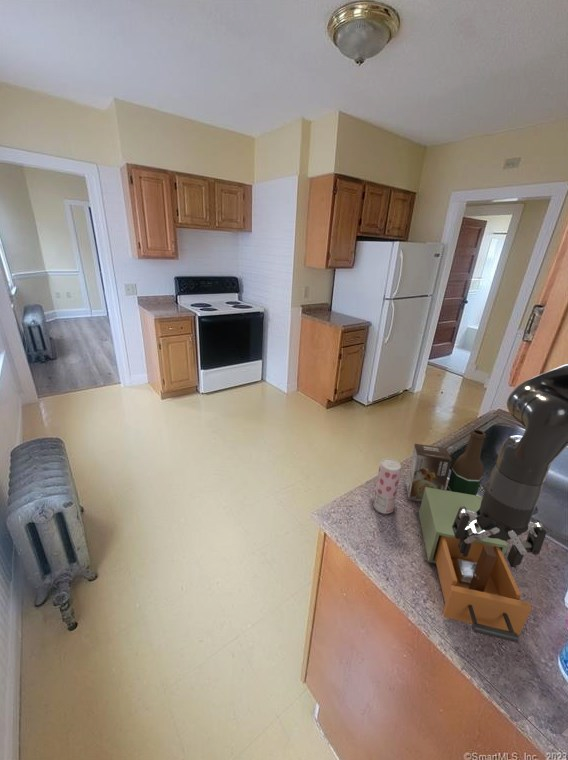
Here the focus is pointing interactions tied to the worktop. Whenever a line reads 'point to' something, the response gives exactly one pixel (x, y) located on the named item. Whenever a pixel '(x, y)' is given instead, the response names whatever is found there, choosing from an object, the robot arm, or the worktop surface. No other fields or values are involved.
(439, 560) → the drawer
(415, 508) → the worktop surface
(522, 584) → the worktop surface
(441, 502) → the cabinet
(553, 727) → the worktop surface
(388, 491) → the beverage can
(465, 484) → the beer bottle
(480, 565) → the scoop
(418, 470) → the coffee box
